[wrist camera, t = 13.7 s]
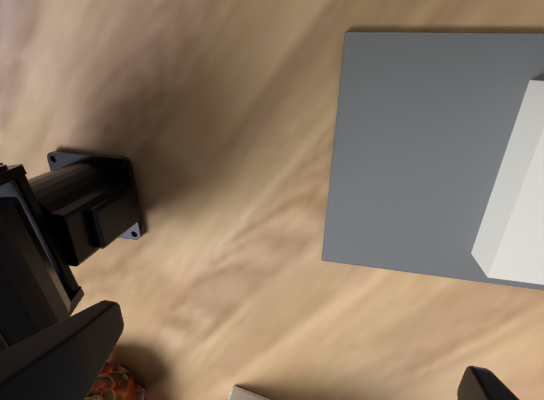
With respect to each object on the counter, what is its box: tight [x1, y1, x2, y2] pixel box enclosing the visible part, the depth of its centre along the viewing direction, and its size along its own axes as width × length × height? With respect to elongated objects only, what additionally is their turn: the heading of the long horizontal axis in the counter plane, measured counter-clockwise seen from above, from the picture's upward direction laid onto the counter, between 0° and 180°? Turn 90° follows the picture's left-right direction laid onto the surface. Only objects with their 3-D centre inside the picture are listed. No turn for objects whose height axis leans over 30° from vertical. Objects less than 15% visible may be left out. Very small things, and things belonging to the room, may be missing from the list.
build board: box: [322, 32, 544, 290], centre depth 16 cm, size 20×14×3 cm
